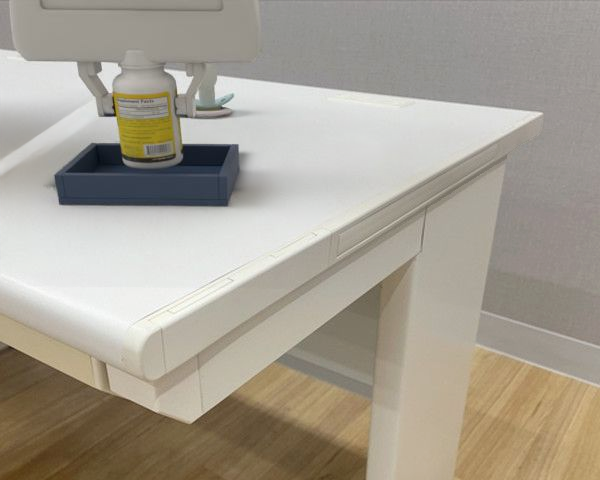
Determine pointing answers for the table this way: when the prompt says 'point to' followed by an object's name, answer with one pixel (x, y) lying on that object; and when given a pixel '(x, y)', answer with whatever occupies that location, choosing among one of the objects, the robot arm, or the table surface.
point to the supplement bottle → (147, 113)
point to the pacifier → (211, 96)
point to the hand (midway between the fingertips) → (148, 116)
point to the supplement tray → (149, 178)
